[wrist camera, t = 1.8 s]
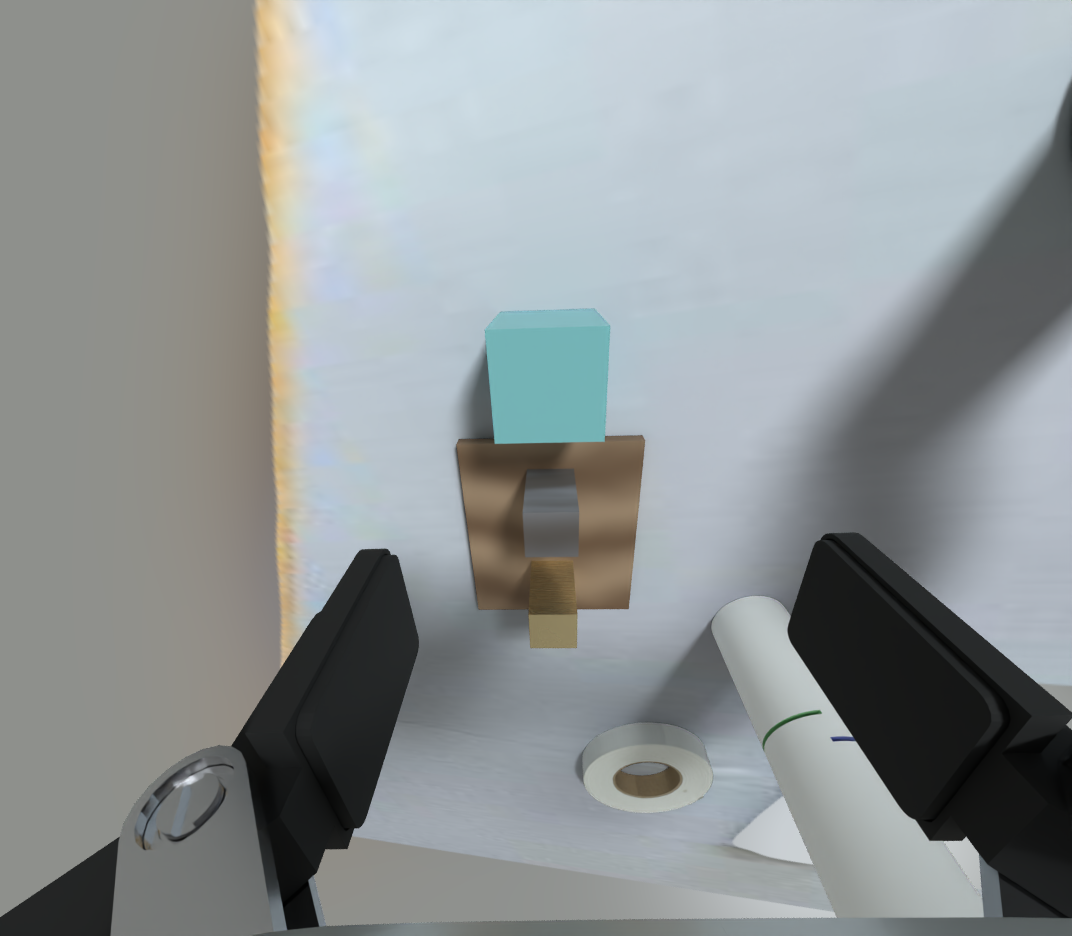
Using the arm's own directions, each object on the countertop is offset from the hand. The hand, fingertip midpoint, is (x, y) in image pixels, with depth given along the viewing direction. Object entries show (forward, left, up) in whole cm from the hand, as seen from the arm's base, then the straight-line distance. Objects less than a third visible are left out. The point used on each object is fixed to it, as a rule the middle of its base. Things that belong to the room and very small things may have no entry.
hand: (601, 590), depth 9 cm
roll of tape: (+49, +10, -22) cm, 55 cm away
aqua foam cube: (-1, -1, -22) cm, 22 cm away
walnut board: (+14, -1, -22) cm, 26 cm away
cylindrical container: (+25, +18, -22) cm, 38 cm away
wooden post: (+18, -1, -22) cm, 28 cm away
